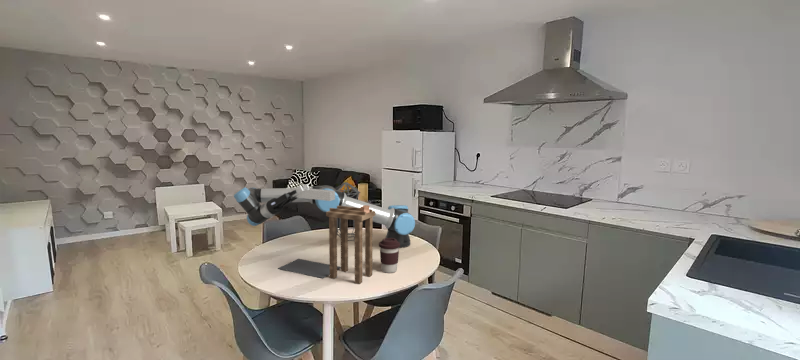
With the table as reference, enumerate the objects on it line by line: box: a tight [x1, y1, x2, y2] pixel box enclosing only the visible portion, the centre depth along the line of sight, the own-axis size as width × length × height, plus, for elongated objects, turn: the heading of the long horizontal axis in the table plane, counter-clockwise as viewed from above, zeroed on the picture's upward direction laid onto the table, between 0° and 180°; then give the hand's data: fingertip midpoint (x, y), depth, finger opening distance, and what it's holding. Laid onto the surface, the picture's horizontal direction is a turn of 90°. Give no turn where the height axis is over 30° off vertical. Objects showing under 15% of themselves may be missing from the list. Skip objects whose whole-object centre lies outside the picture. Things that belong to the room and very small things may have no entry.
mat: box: [277, 258, 341, 279], centre depth 179 cm, size 26×15×1 cm, turn 66°
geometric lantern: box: [334, 181, 361, 242], centre depth 226 cm, size 16×16×35 cm
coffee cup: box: [378, 237, 400, 274], centre depth 177 cm, size 10×10×15 cm
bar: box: [290, 186, 335, 201], centre depth 173 cm, size 22×4×4 cm, turn 66°
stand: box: [325, 205, 376, 285], centre depth 167 cm, size 18×12×33 cm, turn 66°
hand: (304, 187), depth 175 cm, fingers closed on bar, 4 cm apart
